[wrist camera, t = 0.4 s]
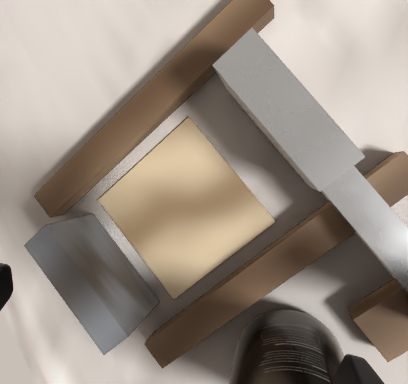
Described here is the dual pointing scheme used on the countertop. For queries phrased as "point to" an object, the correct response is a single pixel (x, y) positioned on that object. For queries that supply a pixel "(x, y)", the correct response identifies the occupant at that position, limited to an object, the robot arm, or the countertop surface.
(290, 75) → the bar
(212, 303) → the press base
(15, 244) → the countertop surface
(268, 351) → the supplement bottle
